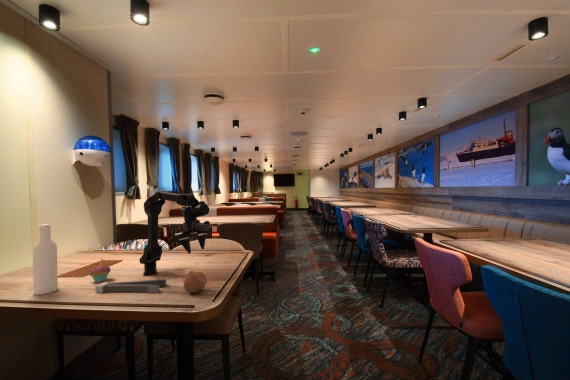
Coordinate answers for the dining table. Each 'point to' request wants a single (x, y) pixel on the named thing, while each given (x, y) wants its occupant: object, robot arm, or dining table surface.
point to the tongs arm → (145, 282)
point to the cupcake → (100, 272)
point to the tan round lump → (194, 282)
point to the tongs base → (127, 288)
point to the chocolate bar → (88, 269)
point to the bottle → (45, 262)
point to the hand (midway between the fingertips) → (196, 251)
